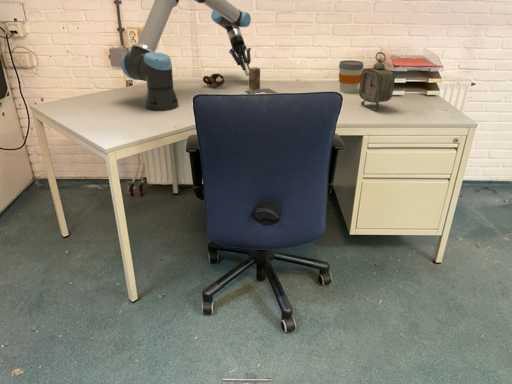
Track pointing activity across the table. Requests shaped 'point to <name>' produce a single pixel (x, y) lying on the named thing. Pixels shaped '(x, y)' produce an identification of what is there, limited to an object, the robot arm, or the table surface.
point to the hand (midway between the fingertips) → (248, 74)
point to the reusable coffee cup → (350, 75)
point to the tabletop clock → (376, 83)
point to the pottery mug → (214, 80)
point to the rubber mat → (260, 91)
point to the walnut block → (254, 78)
